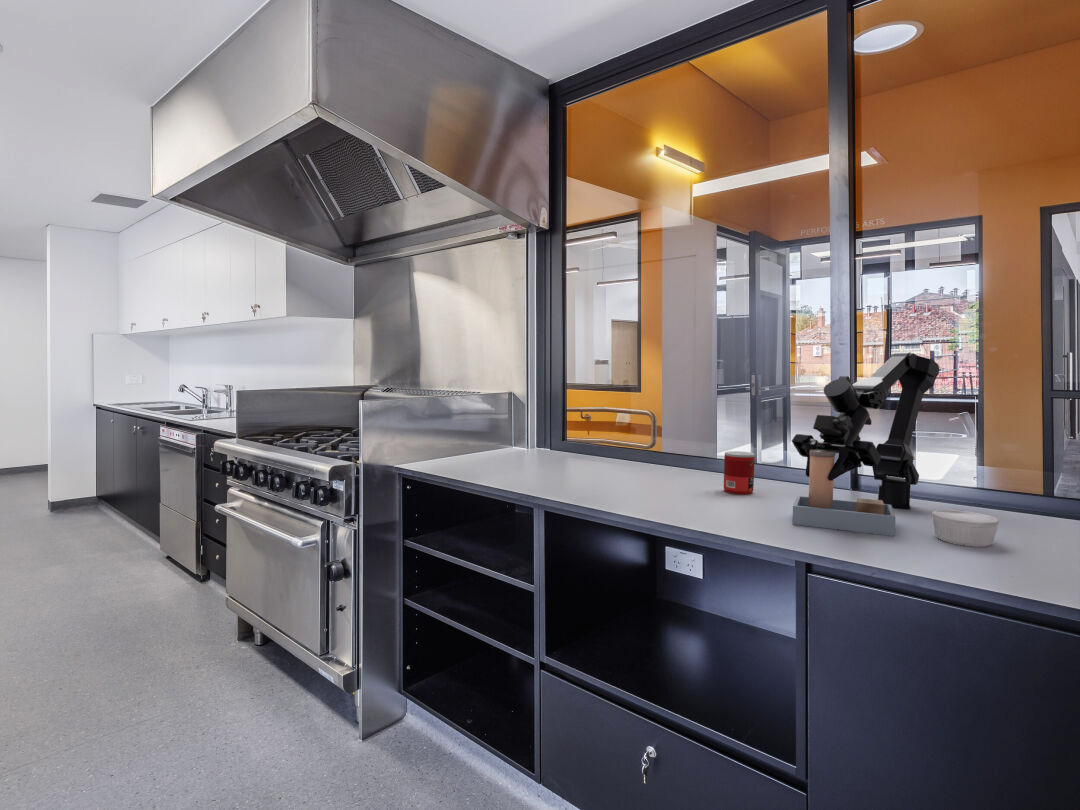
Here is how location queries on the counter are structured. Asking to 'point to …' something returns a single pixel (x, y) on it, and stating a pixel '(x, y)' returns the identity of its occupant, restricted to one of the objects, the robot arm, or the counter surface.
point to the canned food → (739, 472)
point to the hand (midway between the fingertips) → (817, 477)
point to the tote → (843, 517)
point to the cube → (870, 506)
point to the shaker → (821, 478)
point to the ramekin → (964, 527)
